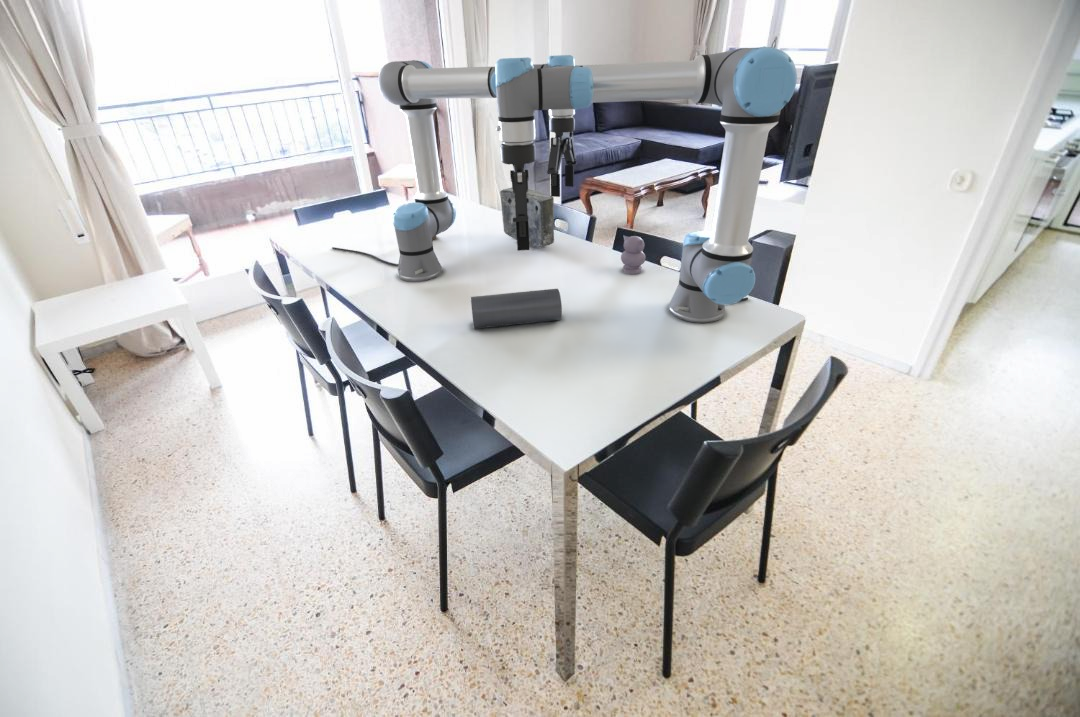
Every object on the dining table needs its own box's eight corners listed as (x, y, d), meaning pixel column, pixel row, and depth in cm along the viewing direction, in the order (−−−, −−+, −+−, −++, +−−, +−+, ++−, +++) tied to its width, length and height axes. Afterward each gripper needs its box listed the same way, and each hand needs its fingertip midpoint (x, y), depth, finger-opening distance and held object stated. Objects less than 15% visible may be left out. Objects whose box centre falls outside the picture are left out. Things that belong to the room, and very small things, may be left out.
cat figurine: (649, 270, 171) (652, 236, 165) (636, 276, 167) (638, 242, 160) (628, 264, 176) (630, 231, 170) (615, 271, 172) (617, 237, 165)
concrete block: (559, 249, 192) (558, 197, 182) (540, 255, 188) (538, 201, 178) (520, 233, 211) (518, 185, 200) (503, 238, 207) (499, 188, 196)
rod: (474, 334, 137) (471, 305, 132) (473, 319, 144) (470, 291, 139) (562, 325, 139) (561, 296, 135) (556, 311, 147) (555, 283, 142)
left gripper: (560, 122, 134) (561, 201, 145) (586, 112, 154) (585, 183, 165) (534, 121, 137) (537, 200, 148) (563, 112, 156) (564, 182, 167)
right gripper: (500, 135, 116) (507, 225, 127) (498, 153, 95) (506, 259, 106) (532, 133, 116) (536, 223, 127) (538, 151, 95) (541, 257, 106)
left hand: (562, 191), depth 156 cm, fingers open, 13 cm apart
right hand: (522, 240), depth 116 cm, fingers open, 13 cm apart
